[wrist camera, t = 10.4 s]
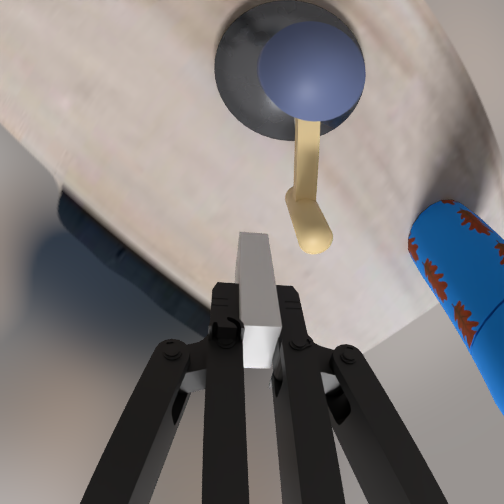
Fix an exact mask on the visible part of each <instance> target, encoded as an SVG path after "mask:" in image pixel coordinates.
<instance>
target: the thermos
mask: <svg viewBox="0 0 504 504" xmlns="http://www.w3.org/2000/svg"><path fill="white" fill-rule="evenodd" d="M408 250H409V253H410V255H411V257H412V260H413V261H414V263H415V264H416V266H417V268H418V270H419V271H420V273H421V275H422V276H423V278H424V279H425V281H426V282H427V284H428V285H429V287H430V288H431V290H432V291H433V293H434V294H435V296H436V298H437V299H438V301H439V302H440V304H441V305H442V307H443V308H444V310H445V312H446V313H447V315H448V316H449V318H450V320H451V321H452V323H453V324H454V326H455V328H456V329H457V331H458V333H459V335H460V336H461V338H462V340H463V342H464V343H465V345H466V347H467V349H468V351H469V352H470V354H471V355H472V358H473V360H474V361H475V363H476V365H477V367H478V369H479V370H480V373H481V375H482V377H483V378H484V381H485V382H486V384H487V386H488V388H489V390H490V393H491V395H492V397H493V398H494V401H495V403H496V404H497V406H498V408H499V409H500V411H501V412H502V414H503V415H504V240H503V239H502V238H501V237H500V236H499V235H498V234H497V233H496V232H495V231H494V230H493V229H492V228H491V227H490V226H488V225H487V224H486V223H485V222H484V221H483V220H482V219H481V218H480V217H478V216H477V215H476V214H475V213H473V212H472V211H471V210H469V209H468V208H466V207H465V206H464V205H462V204H461V203H459V202H456V201H454V200H441V201H439V202H437V203H434V204H432V205H430V206H429V207H428V208H427V209H426V210H425V211H423V212H422V213H421V214H420V215H419V217H418V218H417V220H416V221H415V223H414V224H413V226H412V229H411V232H410V235H409V238H408Z"/></svg>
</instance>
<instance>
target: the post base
mask: <svg viewBox="0 0 504 504" xmlns="http://www.w3.org/2000/svg"><path fill="white" fill-rule="evenodd" d="M306 21H315V22H322V23H325V24H329V25H331V26H334V27H336V28H337V29H339V30H341V31H342V32H344V33H345V34H346V35H347V36H349V37H350V38H351V39H352V41H353V42H354V43H355V44H356V46H357V47H358V49H359V51H360V53H361V55H362V57H363V54H362V51H361V48H360V46H359V44H358V41H357V40H356V38H355V37H354V35H353V33H352V32H351V31H350V30H349V28H348V27H347V26H346V25H345V24H344V23H343V22H342V21H341V20H340V19H339V18H337V17H336V16H335V15H333V14H332V13H330V12H328V11H327V10H325V9H323V8H321V7H318V6H316V5H313V4H310V3H306V2H301V1H294V0H282V1H273V2H269V3H265V4H262V5H259V6H257V7H254V8H252V9H251V10H249V11H247V12H245V13H244V14H243V15H241V16H240V17H239V18H237V19H236V20H235V21H234V22H233V23H232V24H231V25H230V27H229V28H228V29H227V31H226V32H225V34H224V35H223V37H222V39H221V41H220V43H219V46H218V49H217V53H216V57H215V79H216V84H217V88H218V90H219V93H220V96H221V98H222V100H223V101H224V103H225V105H226V106H227V108H228V109H229V110H230V112H231V113H232V114H233V115H234V116H235V117H236V118H237V119H238V120H239V121H240V122H241V123H243V124H244V125H245V126H246V127H248V128H250V129H251V130H253V131H255V132H257V133H259V134H261V135H264V136H267V137H270V138H273V139H278V140H286V141H295V117H293V116H290V115H288V114H287V113H285V112H284V111H282V110H281V109H280V108H278V107H277V106H276V105H275V104H274V103H273V102H272V101H271V100H270V98H269V97H268V96H267V95H266V94H265V92H264V91H263V89H262V87H261V86H260V83H259V80H258V76H257V61H258V57H259V54H260V52H261V50H262V48H263V47H264V45H265V44H266V43H267V42H268V41H269V40H270V39H271V38H272V37H273V36H274V35H275V34H276V33H278V32H279V31H280V30H282V29H283V28H285V27H287V26H289V25H292V24H295V23H299V22H306ZM363 60H364V58H363ZM364 64H365V63H364ZM362 92H363V90H362ZM361 95H362V93H361ZM361 95H360V97H361ZM360 97H359V99H358V100H357V102H356V103H355V104H354V105H353V106H352V107H351V108H350V109H349V110H348V111H347V112H345V113H344V114H342V115H340V116H338V117H336V118H334V119H330V120H326V121H320V136H321V135H324V134H326V133H328V132H330V131H331V130H333V129H335V128H336V127H338V126H339V125H340V124H342V123H343V122H344V121H345V120H346V119H347V118H348V117H349V116H350V114H351V113H352V112H353V110H354V109H355V107H356V106H357V104H358V102H359V100H360Z"/></svg>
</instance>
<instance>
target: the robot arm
mask: <svg viewBox="0 0 504 504" xmlns="http://www.w3.org/2000/svg"><path fill="white" fill-rule="evenodd" d="M272 363H273V373H272V377H271V380H270V383H269V388H271V387H272V391H273V402H274V413H275V423H276V435H277V446H278V457H279V469H280V480H281V492H282V503H283V504H345V499H344V493H343V487H342V481H341V475H340V470H339V464H338V458H337V453H336V447H335V442H334V437H333V431H332V428H333V430H334V432H335V434H336V436H337V438H338V440H339V442H340V445H341V446H342V449H343V451H344V453H345V455H346V457H347V459H348V461H349V463H350V465H351V468H352V470H353V472H354V474H355V476H356V478H357V480H358V482H359V484H360V487H361V489H362V490H363V493H364V495H365V497H366V499H367V501H368V503H369V504H448V502H447V500H446V498H445V497H444V495H443V493H442V491H441V489H440V487H439V485H438V483H437V482H436V480H435V478H434V476H433V474H432V472H431V471H430V469H429V467H428V466H427V463H426V462H425V460H424V458H423V456H422V454H421V453H420V451H419V449H418V447H417V445H416V444H415V442H414V440H413V438H412V437H411V435H410V433H409V431H408V430H407V428H406V426H405V425H404V423H403V421H402V420H401V418H400V416H399V414H398V413H397V411H396V409H395V407H394V406H393V404H392V402H391V401H390V399H389V397H388V396H387V394H386V392H385V391H384V389H383V387H382V386H381V384H380V382H379V381H378V379H377V377H376V376H375V374H374V372H373V371H372V369H371V367H370V366H369V364H368V362H367V361H366V359H365V358H364V356H363V354H362V353H361V352H360V351H359V349H357V348H356V347H354V346H352V345H348V344H344V345H340V346H337V347H336V348H335V350H332V349H328V348H325V347H322V346H319V345H317V344H315V343H314V342H313V340H312V338H311V337H310V336H308V334H307V330H306V325H305V321H304V316H303V312H302V307H301V303H300V298H299V294H298V292H297V291H296V290H295V289H294V287H293V286H282V285H276V283H275V277H274V270H273V264H272V257H271V251H270V245H269V238H268V234H262V233H249V232H240V233H239V242H238V252H237V261H236V270H235V283H222V282H217V284H216V285H215V287H214V288H213V290H212V302H211V315H210V324H209V333H208V335H207V336H206V337H205V338H204V339H203V340H201V341H200V342H197V343H193V344H188V345H186V344H185V343H184V342H182V341H180V340H176V339H169V340H165V341H163V342H161V343H159V344H158V346H157V347H156V348H155V350H154V352H153V354H152V356H151V358H150V360H149V362H148V364H147V366H146V368H145V369H144V371H143V373H142V375H141V377H140V379H139V381H138V383H137V385H136V387H135V389H134V391H133V393H132V395H131V397H130V399H129V401H128V403H127V405H126V407H125V409H124V411H123V413H122V415H121V417H120V419H119V421H118V423H117V426H116V427H115V429H114V431H113V434H112V436H111V438H110V440H109V442H108V444H107V446H106V448H105V450H104V453H103V454H102V456H101V459H100V461H99V463H98V465H97V467H96V470H95V472H94V474H93V476H92V478H91V480H90V483H89V485H88V487H87V489H86V491H85V493H84V496H83V498H82V500H81V502H80V504H149V502H150V500H151V497H152V494H153V492H154V489H155V486H156V483H157V481H158V478H159V476H160V473H161V470H162V468H163V465H164V462H165V460H166V457H167V455H168V452H169V449H170V447H171V444H172V441H173V439H174V436H175V433H176V430H177V428H178V426H179V423H180V420H181V418H182V415H183V412H184V410H185V407H186V405H187V402H188V400H189V397H190V394H191V392H194V391H199V390H203V389H205V411H204V436H203V470H202V504H249V486H248V464H247V441H246V417H245V393H244V368H271V365H272Z"/></svg>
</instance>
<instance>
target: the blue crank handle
mask: <svg viewBox="0 0 504 504" xmlns="http://www.w3.org/2000/svg"><path fill="white" fill-rule="evenodd" d="M257 76H258V80H259V83H260V86H261V87H262V89H263V91H264V92H265V94H266V95H267V96H268V97H269V98H270V100H271V101H272V102H273V103H274V104H275V105H276V106H277V107H278V108H280V109H281V110H282V111H284V112H285V113H287V114H288V115H290V116H293V117H295V158H294V186H293V187H291V188H290V189H289V190H288V191H287V193H286V196H285V201H286V204H287V207H288V210H289V213H290V217H291V220H292V223H293V226H294V229H295V233H296V236H297V239H298V243H299V246H300V248H301V249H302V250H303V251H304V252H306V253H309V254H319V253H322V252H324V251H325V250H327V249H328V248H329V247H330V245H331V243H332V241H333V234H332V231H331V229H330V227H329V225H328V223H327V221H326V219H325V217H324V215H323V213H322V211H321V209H320V208H319V206H318V204H317V202H316V192H317V177H318V160H319V142H320V121H326V120H330V119H334V118H336V117H338V116H340V115H342V114H344V113H345V112H347V111H348V110H349V109H350V108H351V107H352V106H353V105H354V104H355V103H356V102H357V100H358V99H359V97H360V95H361V93H362V90H363V88H364V84H365V76H366V75H365V64H364V60H363V57H362V55H361V53H360V51H359V49H358V47H357V46H356V44H355V43H354V42H353V41H352V39H351V38H350V37H349V36H347V35H346V34H345V33H344V32H342V31H341V30H339V29H337V28H336V27H334V26H331V25H329V24H325V23H322V22H315V21H306V22H299V23H295V24H292V25H289V26H287V27H285V28H283V29H282V30H280V31H279V32H278V33H276V34H275V35H274V36H273V37H272V38H271V39H270V40H269V41H268V42H267V43H266V44H265V45H264V47H263V48H262V50H261V52H260V54H259V57H258V61H257Z"/></svg>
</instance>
